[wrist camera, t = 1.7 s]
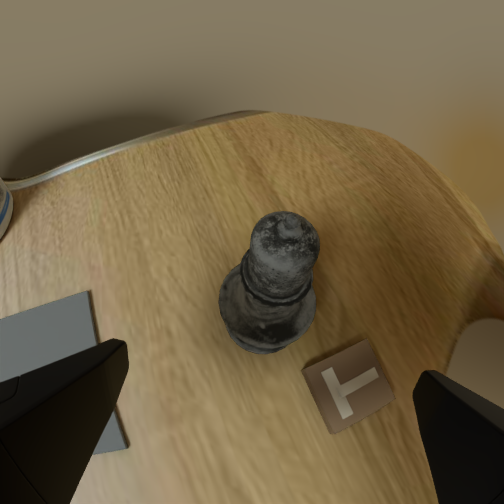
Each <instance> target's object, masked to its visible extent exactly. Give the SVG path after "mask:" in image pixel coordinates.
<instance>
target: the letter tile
mask: <svg viewBox="0 0 504 504" xmlns="http://www.w3.org/2000/svg"><path fill="white" fill-rule="evenodd" d="M301 372H302V374H303V376H304V378H305V380H306V383H307V385H308V387H309V389H310V391H311V394H312V396H313V398H314V400H315V402H316V405H317V407H318V409H319V411H320V413H321V415H322V418H323V420H324V422H325V424H326V426H327V429H328V431H329V433H330V434H336V433H338V432H340V431H342V430H344V429H346V428H348V427H349V426H351V425H353V424H355V423H357V422H358V421H360V420H362V419H364V418H365V417H367V416H369V415H370V414H372V413H374V412H375V411H377V410H379V409H380V408H382V407H383V406H385V405H387V404H388V403H390V402H391V401H393V400H394V399H395V396H394V394H393V392H392V390H391V388H390V386H389V383H388V381H387V379H386V377H385V375H384V373H383V371H382V368H381V366H380V364H379V362H378V360H377V358H376V356H375V354H374V352H373V350H372V348H371V346H370V344H369V342H368V340H367V338H366V339H364V340H363V341H361V342H359V343H357V344H355V345H353V346H351V347H349V348H347V349H345V350H343V351H341V352H339V353H337V354H335V355H333V356H331V357H329V358H326V359H324V360H322V361H320V362H318V363H316V364H314V365H311V366H309V367H307V368H305V369H303V370H302V371H301Z"/></svg>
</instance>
